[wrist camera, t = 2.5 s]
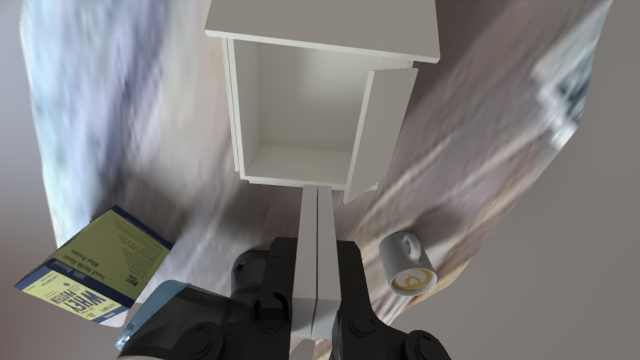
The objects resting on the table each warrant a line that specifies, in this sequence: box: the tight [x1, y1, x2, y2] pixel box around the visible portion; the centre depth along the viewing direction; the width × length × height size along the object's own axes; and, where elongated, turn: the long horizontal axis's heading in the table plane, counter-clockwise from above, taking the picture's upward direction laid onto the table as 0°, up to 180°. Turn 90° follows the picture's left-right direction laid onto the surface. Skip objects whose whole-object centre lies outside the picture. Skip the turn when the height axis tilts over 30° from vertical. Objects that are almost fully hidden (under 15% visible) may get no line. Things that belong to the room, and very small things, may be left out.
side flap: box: [343, 68, 419, 205], centre depth 24 cm, size 13×1×9 cm
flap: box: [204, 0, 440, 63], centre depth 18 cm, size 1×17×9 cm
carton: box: [221, 37, 414, 193], centre depth 31 cm, size 24×20×12 cm
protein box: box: [14, 205, 173, 323], centre depth 48 cm, size 10×16×16 cm
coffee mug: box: [379, 232, 437, 296], centre depth 52 cm, size 13×10×10 cm
